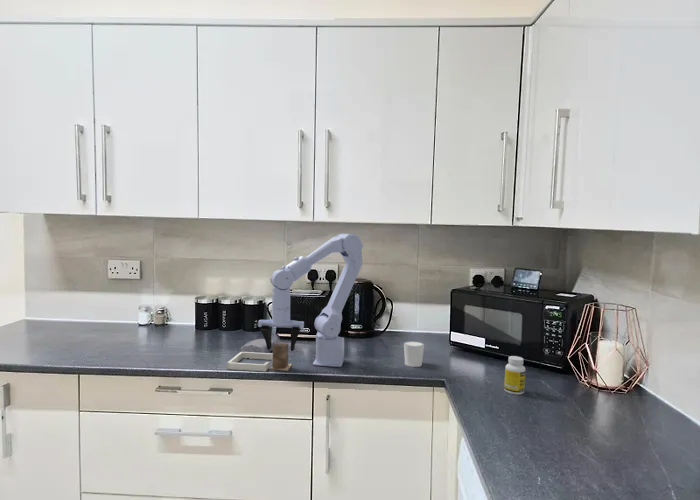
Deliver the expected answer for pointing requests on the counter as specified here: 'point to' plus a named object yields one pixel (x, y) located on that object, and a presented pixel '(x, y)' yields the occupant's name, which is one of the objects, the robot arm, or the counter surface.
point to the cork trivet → (282, 368)
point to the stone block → (257, 346)
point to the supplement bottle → (514, 376)
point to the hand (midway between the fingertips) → (280, 349)
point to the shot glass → (413, 353)
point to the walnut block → (280, 355)
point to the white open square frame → (247, 366)
